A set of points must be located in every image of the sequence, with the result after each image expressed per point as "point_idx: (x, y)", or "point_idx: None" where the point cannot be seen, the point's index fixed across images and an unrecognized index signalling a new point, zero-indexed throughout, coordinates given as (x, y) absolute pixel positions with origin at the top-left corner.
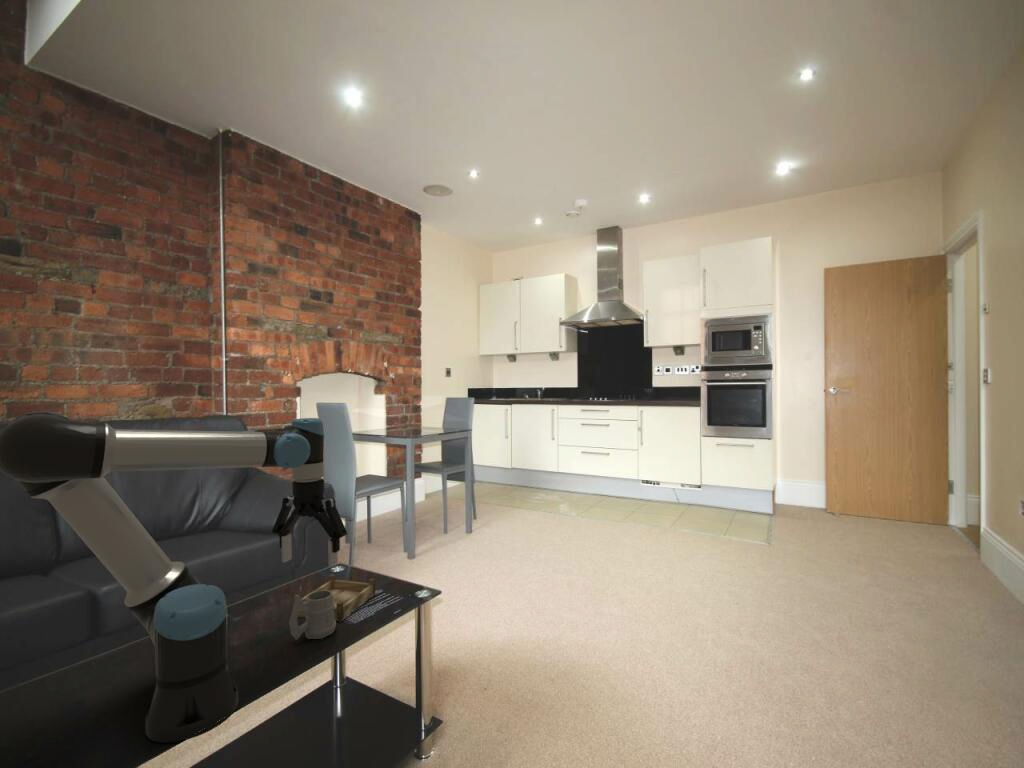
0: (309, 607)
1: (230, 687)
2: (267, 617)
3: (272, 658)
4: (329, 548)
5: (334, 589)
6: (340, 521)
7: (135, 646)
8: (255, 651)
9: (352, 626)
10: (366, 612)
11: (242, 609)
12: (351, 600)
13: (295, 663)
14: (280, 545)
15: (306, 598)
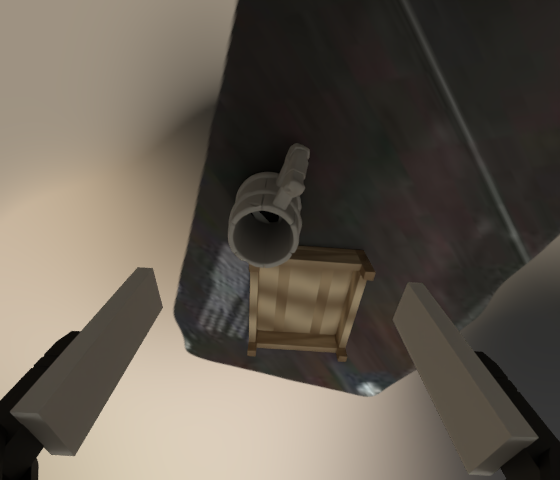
0: (273, 198)
1: None
2: (417, 239)
3: (312, 80)
4: (78, 348)
5: (331, 333)
6: None
7: None
8: (371, 103)
9: (221, 232)
10: (229, 279)
11: (487, 259)
12: (252, 290)
13: (243, 69)
14: (493, 367)
15: (289, 216)
